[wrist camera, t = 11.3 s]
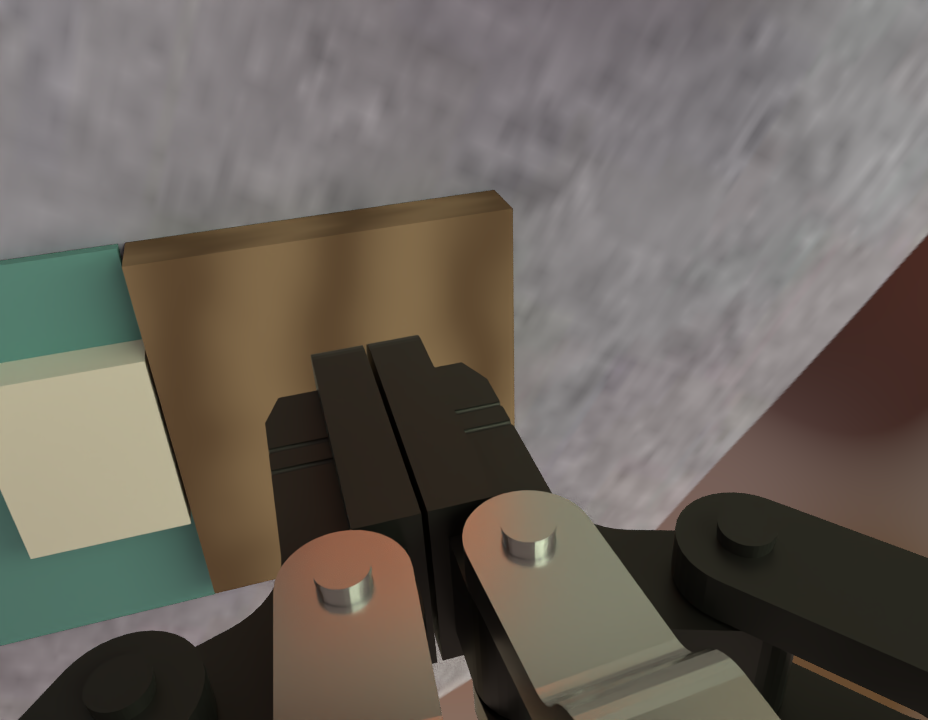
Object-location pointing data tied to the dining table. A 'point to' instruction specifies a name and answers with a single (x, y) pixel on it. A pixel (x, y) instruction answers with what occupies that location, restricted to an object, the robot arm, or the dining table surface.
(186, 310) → the brown wooden board
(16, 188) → the dining table surface
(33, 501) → the tile
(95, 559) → the mat
